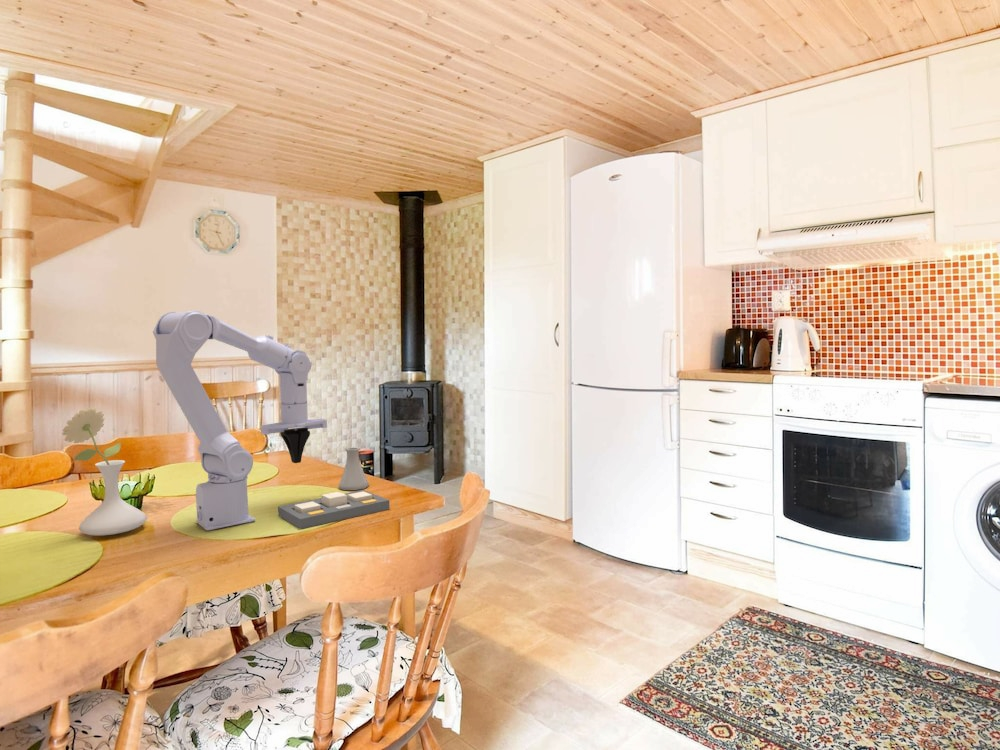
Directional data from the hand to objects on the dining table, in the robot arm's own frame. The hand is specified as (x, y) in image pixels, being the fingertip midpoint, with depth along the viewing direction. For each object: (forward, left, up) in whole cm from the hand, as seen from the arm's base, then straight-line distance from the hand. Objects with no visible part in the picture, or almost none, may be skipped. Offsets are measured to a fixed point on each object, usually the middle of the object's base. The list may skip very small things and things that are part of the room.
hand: (296, 462), depth 138 cm
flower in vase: (-36, +5, -10) cm, 38 cm away
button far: (+9, -13, -9) cm, 18 cm away
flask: (+16, +4, -10) cm, 19 cm away
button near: (-3, -13, -9) cm, 16 cm away
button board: (+3, -13, -9) cm, 16 cm away
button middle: (+3, -13, -8) cm, 15 cm away
